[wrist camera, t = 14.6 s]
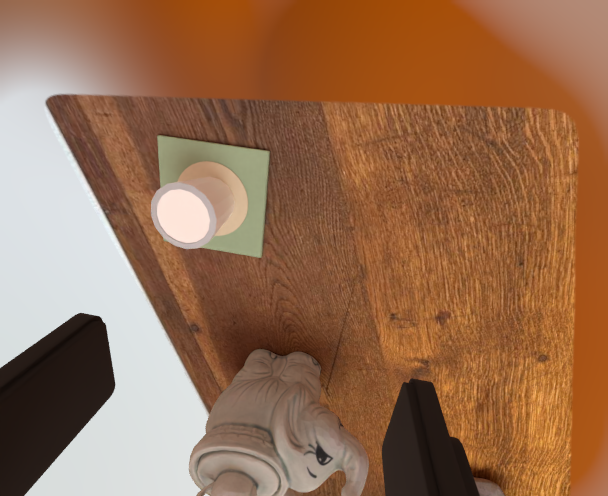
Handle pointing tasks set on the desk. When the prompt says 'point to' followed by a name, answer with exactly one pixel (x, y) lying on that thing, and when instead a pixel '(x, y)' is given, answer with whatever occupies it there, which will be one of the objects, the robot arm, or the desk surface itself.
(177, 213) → the shot glass
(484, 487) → the fossil
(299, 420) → the teapot
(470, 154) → the desk surface
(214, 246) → the mat
